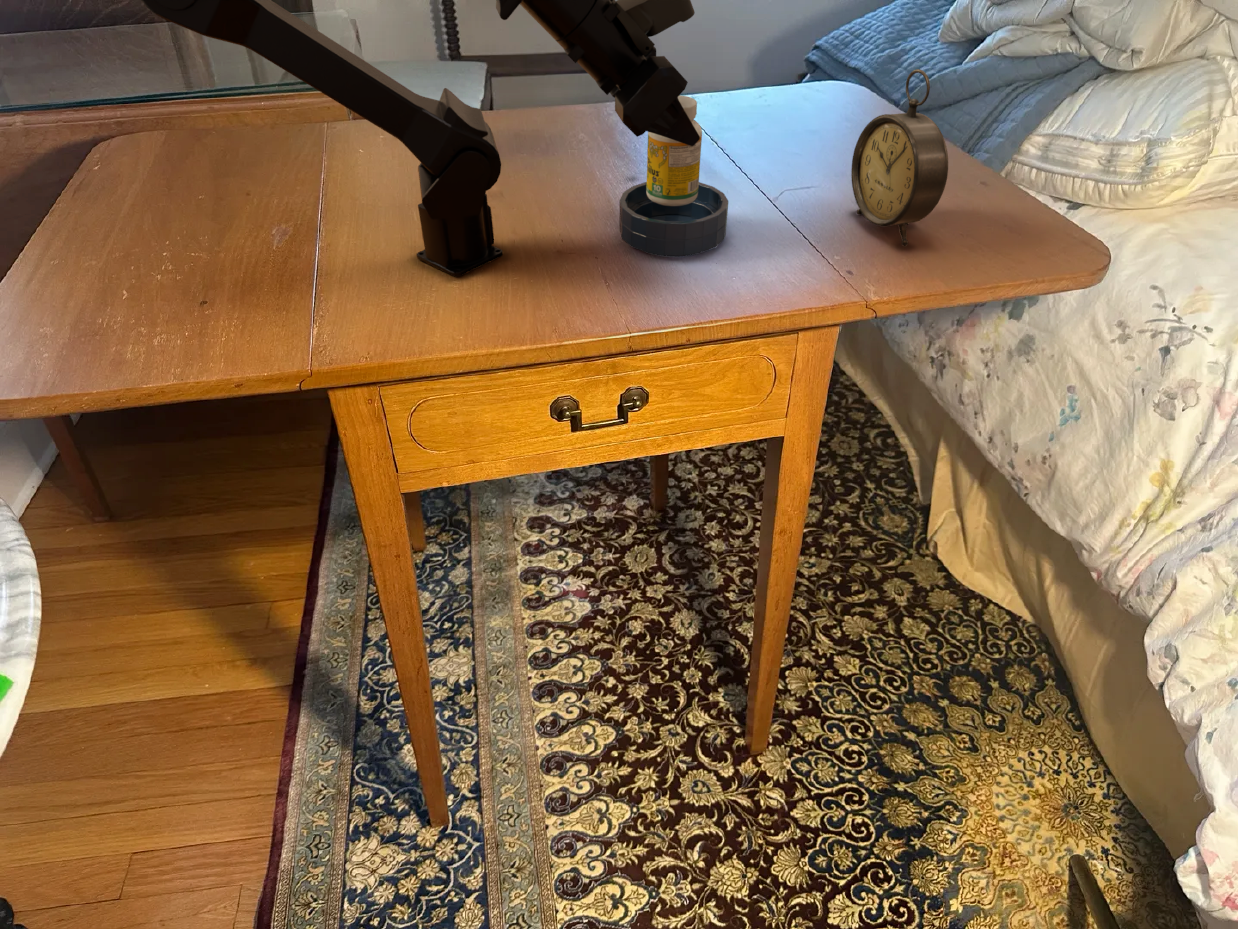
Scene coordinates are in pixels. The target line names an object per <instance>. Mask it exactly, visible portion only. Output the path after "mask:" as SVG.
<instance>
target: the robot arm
mask: <svg viewBox="0 0 1238 929" xmlns="http://www.w3.org/2000/svg"><path fill="white" fill-rule="evenodd" d="M140 1H141V2H142V3H143V5H145V7H146V8H147V9H148V10H150V11H151V12H152V13H153V14H154V15H156V16H157V17H159V18H161V19H163V20H164V21H168V22H169V23H172V24H175V25H177V26H180V27H182V28H185V29H187V30H188V31H191V32H194V33H196V34H198V35H202V36H204V37H207V38H210V39H215V40H218V41H223V42H227V43H229V44H232V45H237V46H240V47H244V48H246V49H248V50H251V51H252V52H253V53H256V54H257V55H259V56H261V57H262V58H264V59H265V60H267V61H269V62H270V63H272V64H273V65H275V66H277V67H278V68H280V69H282V70H284V71H285V72H287V73H288V74H290V75H292V76H293V77H295V78H297V79H298V80H300V81H302V82H303V83H305V84H306V85H308V86H310V87H312V88H313V89H315V90H317V91H318V92H320V93H321V94H323V95H325V96H326V97H328V98H330V99H332V100H333V101H334V102H336V103H338V104H340V105H342V106H343V107H345V109H348V110H350V111H351V112H353V113H355V114H356V115H358V116H359V117H361V118H362V119H364V120H366V121H367V122H370V123H371V124H373V125H374V126H376V127H378V128H379V129H381V130H383V131H384V132H386V133H388V134H389V135H391V136H392V137H394V138H395V139H397V140H398V141H400V143H402V144H403V145H404V146H405V147H406V148H407V149H408V151H410V152H411V153H412V155H413V156H414V157H415V158H416V159H417V160H418V161H419V162H420V163H419V165H418V166H417V171H418V172H417V173H418V180H419V189H420V197H421V198H420V200H421V203H418V204H417V208H418V215H419V223H420V228H421V234H422V240H423V246H424V249H422V250H421V251H418V252H416V258H417V259H418V260H419V261H421V262H423V263H425V264H426V265H429V266H432V267H433V268H436V269H438V270H440V271H442V272H444V273H446V274H448V275H451V276H452V277H455V278H456V277H462V276H463V275H465V274H468V273H469V272H471V271H474V270H475V269H478V268H480V267H482V266H485V265H486V264H488V263H490V262H491V263H492V262H493V261H495V260H497V259H499V258H501V257H502V256H504V251H503V249H501V248H500V247H496V246H494V244H495V236H494V235H495V234H494V225H493V217H492V216H493V215H492V207H491V206H490V205H489V203H488V194H487V191H489V190H491V189H492V188H493V187H494V185H496V183H497V182H498V180H499V178H500V175H501V171H502V161H501V157H500V152H499V149H498V146H497V142H496V140H495V137H494V134H493V131H492V129H491V127H490V126H489V124H488V122H486V121H485V119H484V115H483V112H482V109H481V108H479V107H474V106H470V105H469V104H467V103H465V102H463V101H462V100H461V99H460V98H459V97H458V96H457V95H456V94H455V93H453V92H452V91H451V90H450V89H448V88H447V87H444V88H443V90H442V92H441V95H440V98H439V100H438V99H434V98H430V97H426V96H423V95H420V94H418V93H415V92H414V91H412V90H411V89H410V88H407V87H406V86H405V85H403V84H401V83H400V82H399V81H397V80H395V79H394V78H392V77H390V76H389V75H388V74H386V73H384V72H383V71H381V70H380V69H378V68H377V67H375V66H373V65H372V64H371V63H369V62H367V61H366V60H364V59H363V58H361V57H359V56H358V55H357V54H356V53H353V52H352V51H350V50H349V49H347V48H345V47H344V46H342V45H341V44H340V43H338V42H336V41H335V40H334V39H332V38H330V37H328V36H327V35H325V34H324V33H323V32H320V31H319V30H317V29H316V28H314V27H313V26H311V25H310V24H308V23H307V22H306V21H303V20H302V19H300V18H299V17H297V15H294V14H293V13H292V12H290V11H288V10H287V9H285V8H283V7H282V6H280V5H279V4H277V3H276V2H274V1H273V0H140ZM519 6H521V7H522V8H523V9H524V11H526V12H527V13H528V14H529V15H530V16H531V17H532V19H534V21H535V22H536V23H538V24H539V26H540V27H542V28H543V29H544V31H546V33H548V34H549V36H550V37H552V39H554V40H555V42H557V44H558V45H560V47H561V48H562V49H563V50H564V52H565V53H566V56H568V58H570V60H572V62H574V64H578V65H579V66H580V67H581V68H582V69H583V70H584V71H585V72H586V73H587V74H588V75H589V76H590V77H591V79H593V80H594V81H595V82H596V85H597V86H598V87H599V89H600V90H601V91H602V92H603V93H604V94H605V95H606V96H608V95H609V94H610V95H611V96H612V98H614V112H615V113H616V115H617V116H618V117H619V119H620V121H621V122H622V124H623V125H624V126H625V127H626V128H628V130H629V131H630V132H631V133H633V134H634V136H635V137H637V138H638V137H640V136H643V135H644V134H645V133H646V132H647V133H648V132H651V133H654V134H658V135H661V136H664V137H667V138H670V139H673V140H675V141H678V142H681V143H684V144H687V145H690V146H694V145H695V144H696V143H697V142H698V141H699V139H700V136H699V135H698V133H697V131H696V129H695V128H694V126H693V124H692V123H691V121H690V119H689V117H688V116H687V114H686V112H685V110H684V109H683V107H682V105H681V103H680V102H679V100H678V96H679V95H681V94H683V92H684V91H685V90H686V89H687V85H688V83H689V82H688V81H687V79H686V78H685V77H684V76H683V75H682V74H681V73H680V72H679V71H678V70H677V68H676V67H675V66H674V65H673V64H672V63H671V62H670V61H669V60H668V59H667V58H666V56H665V55H657V48H656V46H655V43H654V42H653V41H652V40H651V37H654V36H657V35H659V34H660V33H662V32H664V31H666V30H667V29H669V28H671V27H673V26H675V25H676V24H678V23H680V22H681V23H685V22H687V21H688V20H690V19H692V18H693V16H694V15H695V10H694V6H693V3H692V1H691V0H495V9H496V11H497V13H498V15H499V18H500V19H501V20H503V21H507V20H508V19H509V18H510V17H511V16H512V14H513V13H514V12H515V10H517V8H518V7H519Z"/></svg>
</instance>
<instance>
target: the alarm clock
mask: <svg viewBox="0 0 1238 929" xmlns="http://www.w3.org/2000/svg"><path fill="white" fill-rule="evenodd" d="M915 74H921V75H922V76H923V78H924V80H925V84H926V92H925V96H924V97H923V99H922V100H921V101H920V102H919V100H918V99H917V98H911V95H910V90H909V88H910V86H909V85H910V81H911V79H912V77H914V75H915ZM930 91H931V83H930V78H929V75H928V74H927V73H926V72H925V71H924V70H922V69H920V68H919V69H918V68H916V69H914V70H912V71H911V72H910V73H909V74H908V75H907V78H906V81H905V94H906V97H907V100H908V106H909V107H908V109H907V111H906V112H905V113H904V112H903V113H891V114H889V113H885V114H881V115H877V116H875V117H874V118H873V119H871V120H870V121H869V122H868V123H867V124H866V125H865V127H864V128H863V130H862V131H861V133H860V134H859V137H858V139H857V141H856V144H855V146H854V150H853V154H852V159H851V170H850V172H851V173H850V174H851V175H850V177H851V188H852V192H853V196H854V200H855V203H856V205H857V207H858V209H857V210H856V215H858V216H861V215H862V216H864V218H865V219H866V220H867V221H868V222H870V223H871V224H872V225H875V226H878V227H882V228H884V227H890V226H891V227H892V226H898V230H899V234H900V237H901V246H903V247H907V245H908V244H909V241H908V240H907V234H908V233H907V232H908V230H907V226H908V225H909V224H913V223H916V222H919V221H921V220H923V219H925V218H926V217H927V216H929V215H930V214H931V213H932V212H933V210H934V209H935V208H936V207H937V205H938V204H939V202H940V201H941V198H942V196H943V194H944V191H945V189H946V185H947V181H948V176H949V152H948V148H947V143H946V141H945V138H944V135H943V133H942V131H941V130H940V128H939V127H938V125H937V123H935V122H934V120H933V119H931V117H928V116H927V115H925V114H923V113H919V112H917V109H918V107H919V106H920V107H921V106H922V105H923V104H924V103H926V102H927V100H928V98H929V96H930Z"/></svg>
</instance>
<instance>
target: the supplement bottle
mask: <svg viewBox="0 0 1238 929" xmlns="http://www.w3.org/2000/svg"><path fill="white" fill-rule="evenodd" d="M678 100H679V102H680V103H681V105H682V107H683V109H684V110H685V112H686V114H687V116H688V117H689V119H690V121H691V123H692V124H693V126H694V128H695V129H696V131H697V133H698V135H699V136H700V139H699V141H698V142H697V143H696V144H695V145H694V146H690V145H687V144H684V143H681V142H678V141H675V140H673V139H670V138H667V137H664V136H661V135H658V134H654V133H651V132H648V131H647V152H646V153H647V154H646V155H647V157H646V182H647V186H646V193H647V196H648V198H649V199H650V200H651V201H653V202H655V203H658V204H661V205H665V206H682V205H687V204H689V203H692V202H693V201H694V200H695V199H696V198H697V195H698V187H699V182H700V167H701V155H702V139H703V130H702V127H701V124H699V122H698V121H697V120H695V119H696V117H697V115H698V112H697V109H698V102H697V100H696V98H693V97H691V96H687V95H681V94H680V95H679V96H678Z"/></svg>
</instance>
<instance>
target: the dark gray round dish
mask: <svg viewBox="0 0 1238 929" xmlns="http://www.w3.org/2000/svg"><path fill="white" fill-rule="evenodd" d="M646 186H647V181H645V182H642V183H638V184H635V185H632V186H631V187H629V188H628V189H626V190H625V191H624V192H622V194H621V196H620V198H619V204H618V206H619V233H620V236H621V240H623V241H624V242H625V243H626V244H627V245H629V246H630V247H632V248H633V249H636V250H639V251H641V252H643V253H647V254H650V255H654V256H659V257H666V258H680V257H690V256H694V255H699V254H702V253H705V252H707V251H710V250H713V249H715V248H717V247H718V246H719V245H720V244H721V243H723V242H724V241H725V238H726V234H727V226H728V224H727V222H728V212H729V199H728V198H727V196H726V195H725V193H724V192H723V191H721V190H719V189H718V188H716V187H715V186H712V185H710V184H706V183H703V182H700V181H699V187H698V195H697V198H696V199H695V200H694V201H693V202H692V203H689V204H687V205H682V206H665V205H661V204H658V203H655V202H653V201H651V200H650V199H649V198H648V196H647V193H646Z"/></svg>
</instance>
